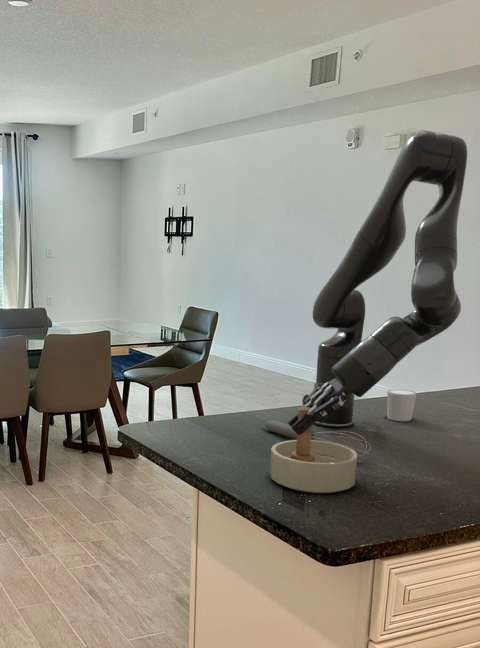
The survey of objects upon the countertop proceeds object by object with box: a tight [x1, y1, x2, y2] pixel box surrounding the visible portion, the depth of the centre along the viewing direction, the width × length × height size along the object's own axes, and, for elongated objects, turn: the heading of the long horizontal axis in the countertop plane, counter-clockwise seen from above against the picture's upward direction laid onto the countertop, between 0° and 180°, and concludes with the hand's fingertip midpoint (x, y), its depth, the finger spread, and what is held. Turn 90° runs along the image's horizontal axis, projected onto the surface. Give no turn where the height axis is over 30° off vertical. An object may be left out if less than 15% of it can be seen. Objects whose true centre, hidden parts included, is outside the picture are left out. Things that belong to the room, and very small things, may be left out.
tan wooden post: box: [291, 406, 315, 462], centre depth 134 cm, size 4×4×11 cm
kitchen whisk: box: [263, 419, 372, 463], centre depth 157 cm, size 6×34×6 cm, turn 22°
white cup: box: [386, 389, 417, 422], centre depth 180 cm, size 7×7×7 cm
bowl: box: [269, 439, 359, 494], centre depth 135 cm, size 16×16×6 cm
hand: (293, 429), depth 134 cm, fingers closed on tan wooden post, 2 cm apart
